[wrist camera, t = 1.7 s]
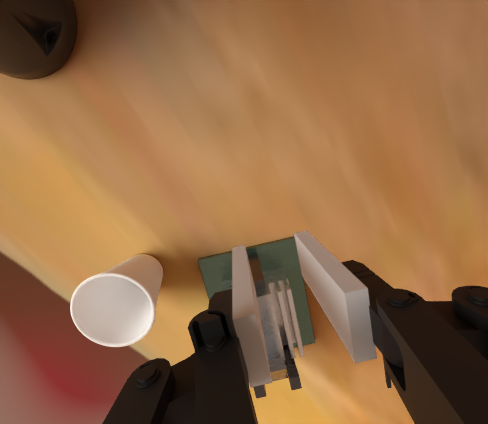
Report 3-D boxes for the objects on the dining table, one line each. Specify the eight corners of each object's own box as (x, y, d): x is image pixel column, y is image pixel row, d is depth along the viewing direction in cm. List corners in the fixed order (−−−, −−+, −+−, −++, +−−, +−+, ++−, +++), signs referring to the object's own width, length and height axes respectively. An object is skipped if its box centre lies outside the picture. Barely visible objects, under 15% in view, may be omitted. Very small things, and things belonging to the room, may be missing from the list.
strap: (252, 362, 25) (254, 376, 24) (285, 355, 25) (288, 369, 24) (263, 373, 36) (265, 383, 36) (285, 368, 36) (287, 378, 36)
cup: (183, 288, 41) (166, 334, 30) (127, 305, 41) (90, 356, 30) (163, 234, 39) (137, 263, 28) (103, 252, 39) (55, 287, 28)
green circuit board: (198, 258, 40) (187, 291, 30) (294, 236, 40) (314, 261, 30) (227, 359, 44) (226, 417, 34) (313, 339, 44) (337, 391, 34)
